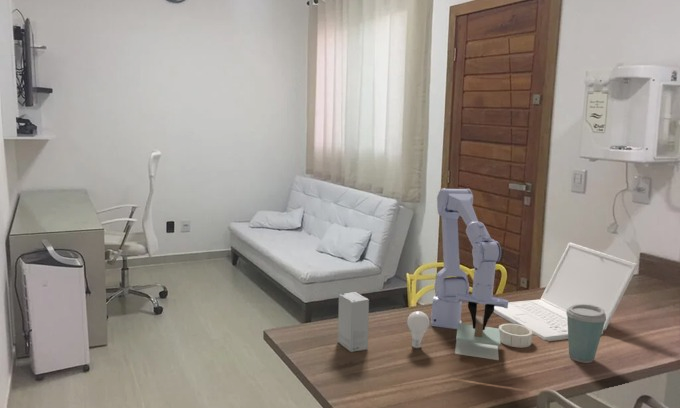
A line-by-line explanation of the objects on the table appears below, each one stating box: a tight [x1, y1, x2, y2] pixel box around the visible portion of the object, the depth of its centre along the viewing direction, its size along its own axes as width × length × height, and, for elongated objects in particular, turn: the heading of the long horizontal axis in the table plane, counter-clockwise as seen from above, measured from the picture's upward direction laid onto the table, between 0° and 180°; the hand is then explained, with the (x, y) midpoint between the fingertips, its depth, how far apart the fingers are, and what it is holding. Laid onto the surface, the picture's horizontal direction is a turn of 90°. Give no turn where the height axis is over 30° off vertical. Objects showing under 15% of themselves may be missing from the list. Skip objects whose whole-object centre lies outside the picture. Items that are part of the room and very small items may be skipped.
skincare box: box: [337, 291, 370, 353], centre depth 162 cm, size 8×6×15 cm
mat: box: [454, 339, 500, 361], centre depth 165 cm, size 12×12×1 cm
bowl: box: [498, 322, 533, 348], centre depth 172 cm, size 10×10×4 cm
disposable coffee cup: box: [566, 304, 606, 364], centre depth 162 cm, size 11×11×15 cm
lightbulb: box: [406, 310, 431, 349], centre depth 163 cm, size 6×6×11 cm
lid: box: [455, 315, 501, 347], centre depth 164 cm, size 12×12×5 cm
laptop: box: [492, 241, 639, 342], centre depth 192 cm, size 30×35×23 cm
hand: (478, 328), depth 164 cm, fingers closed on lid
